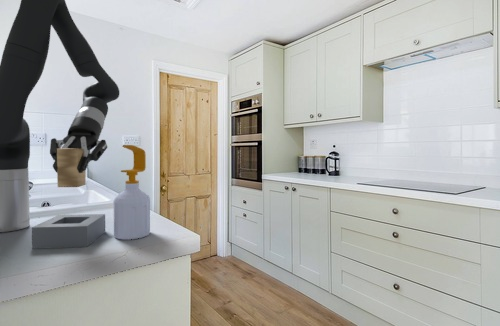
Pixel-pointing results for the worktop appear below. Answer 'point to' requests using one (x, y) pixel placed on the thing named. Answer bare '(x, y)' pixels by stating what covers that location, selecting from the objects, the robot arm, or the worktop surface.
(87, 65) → the robot arm
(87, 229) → the well
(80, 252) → the worktop surface
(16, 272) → the worktop surface
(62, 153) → the oak post
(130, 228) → the soap bottle
